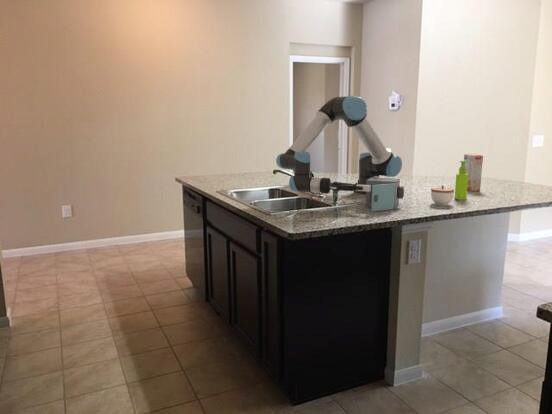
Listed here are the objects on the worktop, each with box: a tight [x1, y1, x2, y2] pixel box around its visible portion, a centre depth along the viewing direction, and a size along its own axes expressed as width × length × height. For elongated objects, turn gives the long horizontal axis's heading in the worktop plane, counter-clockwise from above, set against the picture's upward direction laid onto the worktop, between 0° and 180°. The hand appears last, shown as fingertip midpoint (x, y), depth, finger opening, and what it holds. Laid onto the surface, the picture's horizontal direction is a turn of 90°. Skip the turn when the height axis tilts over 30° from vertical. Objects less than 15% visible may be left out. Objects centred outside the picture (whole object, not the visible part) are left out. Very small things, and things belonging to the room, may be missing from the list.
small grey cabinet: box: [365, 176, 405, 208], centre depth 228 cm, size 12×17×14 cm
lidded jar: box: [430, 185, 455, 206], centre depth 233 cm, size 11×11×9 cm
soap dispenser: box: [454, 160, 471, 200], centre depth 248 cm, size 6×7×20 cm
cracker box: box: [463, 153, 484, 192], centre depth 278 cm, size 14×6×21 cm, turn 179°
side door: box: [370, 183, 397, 212], centre depth 217 cm, size 2×14×12 cm, turn 118°
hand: (370, 188), depth 216 cm, fingers closed
